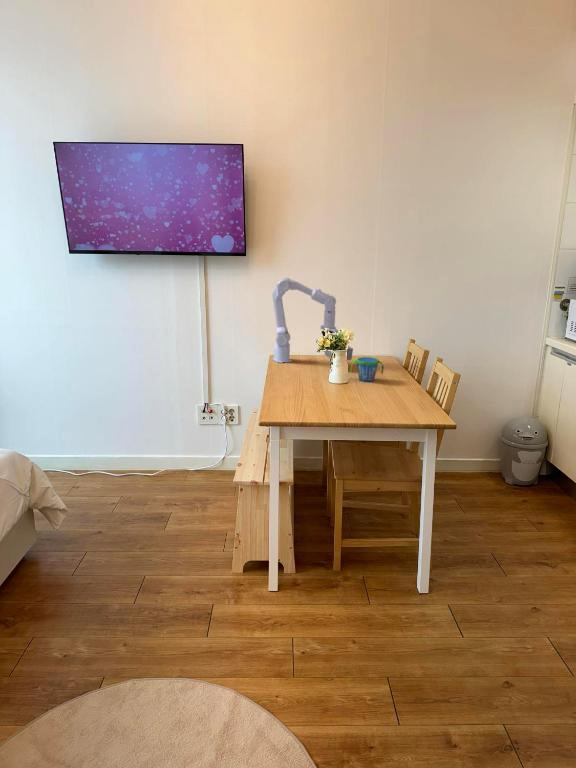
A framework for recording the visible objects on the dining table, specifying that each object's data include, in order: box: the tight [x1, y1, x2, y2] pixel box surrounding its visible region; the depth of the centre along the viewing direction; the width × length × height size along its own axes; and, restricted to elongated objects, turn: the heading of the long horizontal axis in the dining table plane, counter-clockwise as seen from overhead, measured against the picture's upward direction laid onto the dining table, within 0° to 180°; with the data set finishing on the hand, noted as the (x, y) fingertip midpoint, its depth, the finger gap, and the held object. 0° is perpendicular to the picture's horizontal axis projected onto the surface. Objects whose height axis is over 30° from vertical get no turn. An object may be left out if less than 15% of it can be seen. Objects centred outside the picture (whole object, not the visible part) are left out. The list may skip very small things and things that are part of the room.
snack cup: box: [350, 356, 384, 382], centre depth 270 cm, size 16×10×10 cm
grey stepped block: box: [323, 345, 354, 361], centre depth 293 cm, size 17×10×6 cm, turn 27°
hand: (328, 344), depth 299 cm, fingers closed on grey stepped block, 2 cm apart
